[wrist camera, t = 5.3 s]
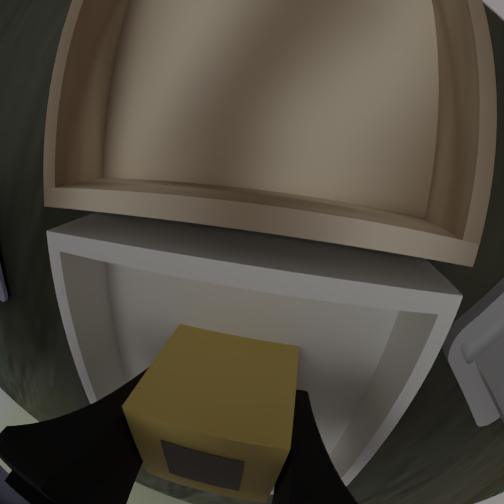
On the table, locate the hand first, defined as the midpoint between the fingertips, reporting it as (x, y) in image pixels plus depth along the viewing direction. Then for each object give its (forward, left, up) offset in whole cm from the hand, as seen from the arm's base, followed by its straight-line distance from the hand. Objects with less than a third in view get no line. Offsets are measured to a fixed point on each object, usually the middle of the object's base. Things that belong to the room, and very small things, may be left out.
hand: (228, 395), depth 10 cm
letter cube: (0, 0, -1) cm, 1 cm away
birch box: (0, +13, -2) cm, 13 cm away
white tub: (0, 0, -2) cm, 2 cm away
